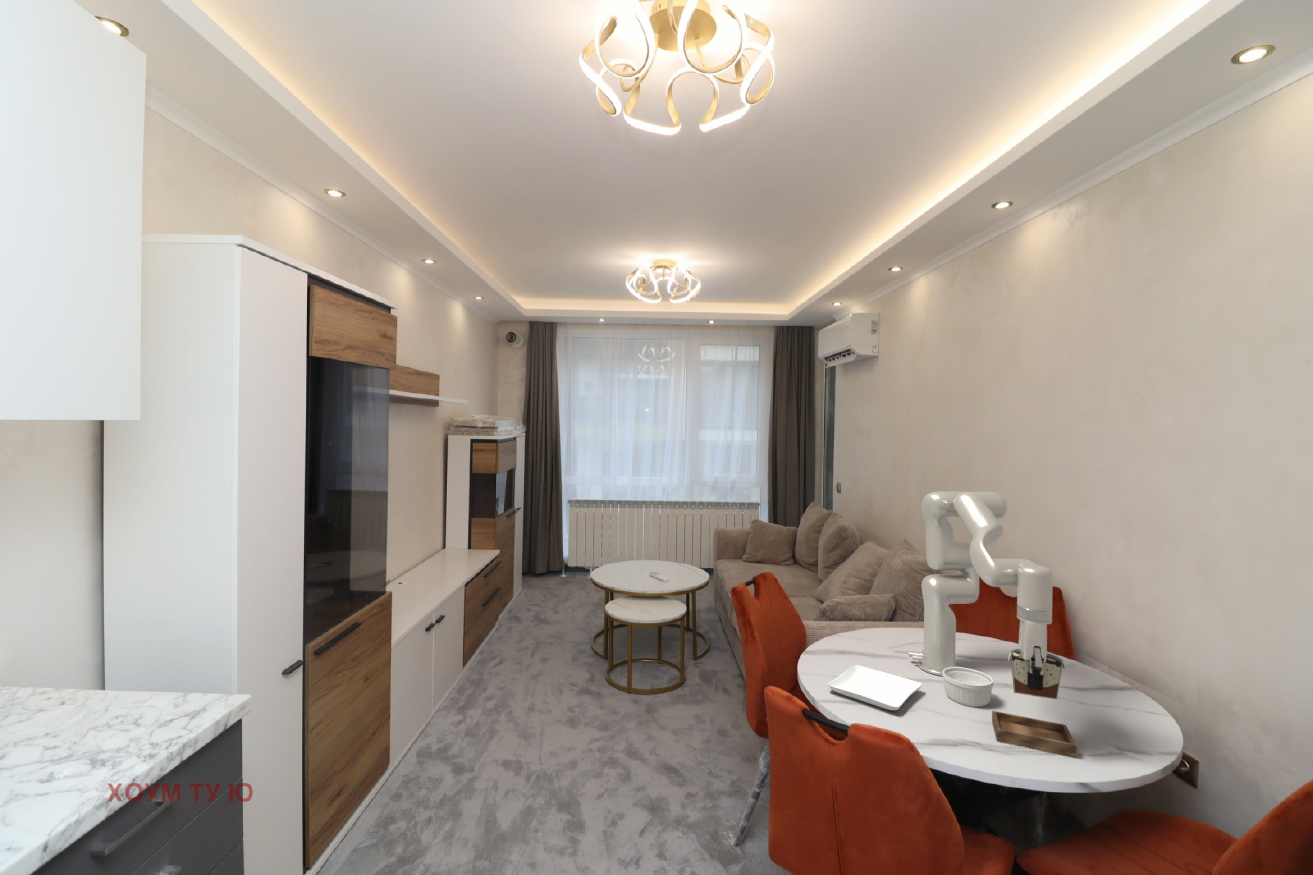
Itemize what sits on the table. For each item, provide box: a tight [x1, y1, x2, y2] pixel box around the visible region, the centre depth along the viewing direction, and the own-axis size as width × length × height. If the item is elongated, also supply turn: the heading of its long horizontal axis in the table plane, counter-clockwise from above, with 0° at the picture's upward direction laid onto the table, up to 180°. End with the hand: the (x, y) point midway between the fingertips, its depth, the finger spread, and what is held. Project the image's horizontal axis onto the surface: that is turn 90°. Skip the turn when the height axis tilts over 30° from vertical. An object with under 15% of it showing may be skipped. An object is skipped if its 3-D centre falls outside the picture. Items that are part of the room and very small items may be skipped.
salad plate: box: [827, 664, 923, 711], centre depth 170 cm, size 21×21×3 cm
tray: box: [991, 710, 1077, 759], centre depth 145 cm, size 17×11×3 cm
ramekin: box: [942, 666, 994, 708], centre depth 168 cm, size 13×13×7 cm
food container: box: [1007, 648, 1066, 700], centre depth 146 cm, size 12×6×10 cm, turn 71°
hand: (1032, 683), depth 145 cm, fingers closed on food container, 5 cm apart
